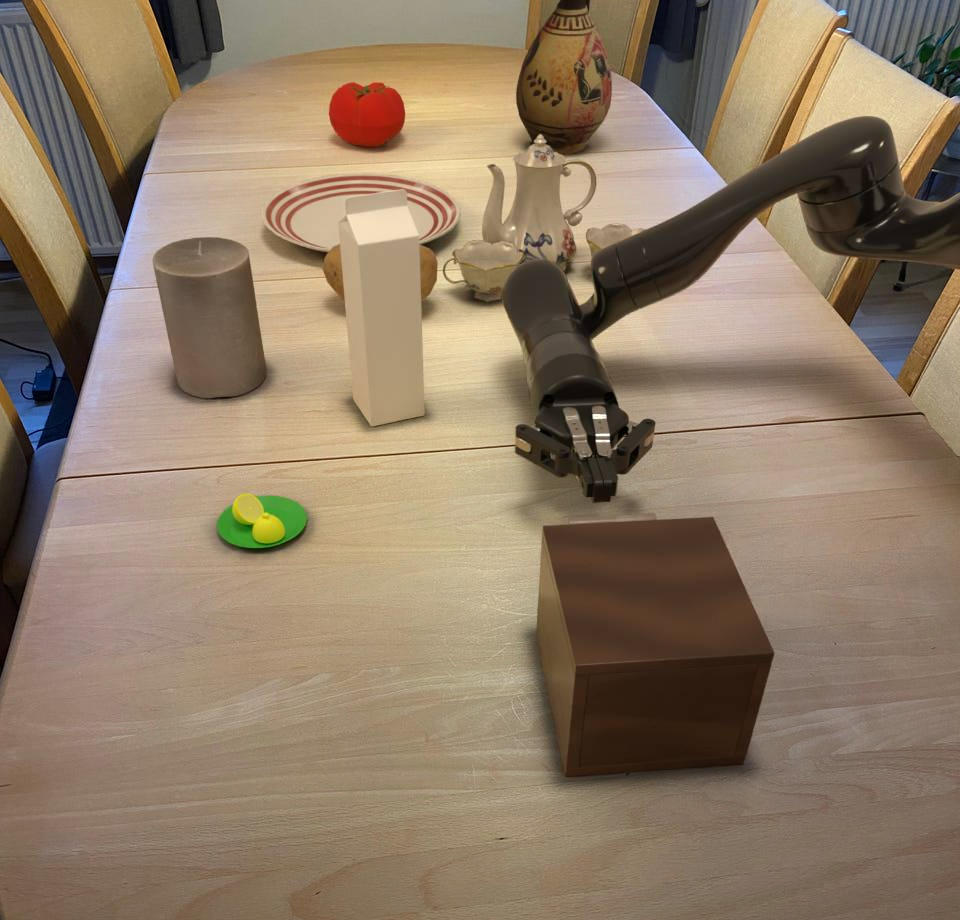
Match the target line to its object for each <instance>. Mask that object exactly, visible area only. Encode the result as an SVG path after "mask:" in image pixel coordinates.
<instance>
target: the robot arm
mask: <svg viewBox="0 0 960 920" xmlns="http://www.w3.org/2000/svg"><path fill="white" fill-rule="evenodd" d="M897 150H898V149H897V145H896V141H895V136H894V132H893V129H892V126H891V125H890V124H889V123H888V122H887V121H886V120H885V119H883V118H881V117H878V116H874V115H861V116H855V117H850V118H847V119H844V120H841V121H837V122H836V123H833V124H831V125H829V126H826V127H824V128H822V129H820V130H818V131H816V132H814V133H812V134H810V135H809V136H807V137H805V138H803V139H801V140H800V141H798V142H797V143H795V144H793V145H791V146H790V147H788V148H786V149H784V150H782V151H781V152H779V153H778V154H776V155H775V156H772V157H771V158H769V159H768V160H766V161H765V162H763V163H761V164H760V165H757V166H756V167H755V168H753V169H751V170H749V171H748V172H745V174H743V175H741V176H740V177H738V178H736V179H735V180H733V181H732V182H730V183H728V184H727V185H725V186H724V187H722V188H721V189H719V190H717V191H715V193H713V194H710V195H709V196H708V197H706V198H705V199H703V200H702V201H700V202H698V203H696V204H695V205H693V206H691V207H690V208H688V209H686V210H684V211H682V212H680V213H679V214H677V215H675V216H673V217H670V218H668V219H667V220H664V221H663V222H660V223H658V224H656V225H654V226H651V227H648V228H645V229H646V230H644V231H642V232H639V233H637V234H635V235H633V236H630V237H628V238H626V239H624V240H621V241H619V242H617V243H615V244H612V245H610V246H608V247H606V248H603V249H602V250H600V251H598V252H597V253H596V254H595V255H594V256H593V257H592V256H591V260H590V274H591V275H590V276H591V281H592V286H593V290H594V292H593V293H592V295H591V296H590V297H589V298H588V299H587V300H586V301H584V302H583V303H581V304H580V303H579V302H578V299H577V297H576V295H575V292H574V290H573V289H572V285H571V284H570V281H569V279H568V277H567V276H566V273H565V271H564V272H563V270H562V269H561V268H560V267H559V266H558V265H557V264H555V263H554V262H552V261H549V260H545V259H533V260H529V261H526V262H524V263H522V264H520V265H519V266H517V267H516V268H515V269H514V270H513V271H512V272H511V273H510V275H509V276H508V278H507V279H506V281H505V284H504V287H503V290H502V291H501V292H502V293H501V294H502V296H501V301H502V305H503V309H504V311H505V313H506V315H507V318H508V320H509V323H510V325H511V327H512V329H513V331H514V334H515V336H516V338H517V340H518V343H519V346H520V349H521V354H522V360H523V364H524V368H525V372H526V384H527V395H528V398H529V401H530V402H531V405H532V408H533V413H534V416H535V418H534V425H532V426H530V425H528V424H525V423H520V424H517V425H515V439H514V441H515V443H514V453H515V454H516V455H518V456H520V457H521V458H523V459H525V460H527V461H528V462H530V463H532V464H534V465H535V466H537V467H539V468H541V469H542V470H545V472H548V473H549V474H552V475H553V476H555V477H557V478H565V477H567V476H568V475H569V474H570V475H574V476H575V478H576V479H577V480H578V482H579V485H580V490H581V493H582V495H583V496H584V497H585V498H587V499H588V498H590V501H591V503H592V504H601V503H602V504H603V503H611V501H612V497H616V495H617V493H618V492H617V491H618V483H619V477H618V475H620V476H624V475H627V474H628V473H629V472H630V471H632V469H633V468H634V467H635V466H636V465H637V464H638V463H639V462H640V461H641V460H642V458H644V456H645V455H647V453H648V452H649V451H650V450H652V448H653V445H654V438H655V430H656V420H654V419H651V418H644V419H642V420H641V421H640V422H639V423H637V422H634V421H632V420H630V417H629V415H628V413H627V412H626V411H624V410H623V409H621V407H620V405H619V401H618V397H617V395H616V392H615V390H614V387H613V384H612V382H611V379H610V376H609V374H608V372H607V369H606V366H605V364H604V361H603V359H602V357H601V355H600V353H599V352H598V350H597V349H596V348H595V344H594V342H593V340H594V339H595V338H597V337H598V336H599V335H600V334H602V333H603V332H605V331H606V330H607V329H609V328H610V327H612V326H613V325H615V324H616V323H617V322H619V321H620V320H622V319H623V318H625V317H627V316H628V315H630V314H632V313H635V312H637V311H639V310H642V309H644V308H647V307H649V306H652V305H654V304H656V303H659V302H662V301H664V300H666V299H668V298H671V297H673V296H675V295H677V294H679V293H682V292H683V291H685V290H687V289H688V288H690V287H691V286H692V285H695V283H696V282H698V281H699V280H700V279H701V278H703V276H705V275H706V274H707V272H708V271H709V270H710V269H711V268H712V267H713V266H714V264H715V263H716V262H717V261H718V260H719V259H720V258H721V256H722V255H723V254H724V252H725V251H726V250H727V249H728V247H730V245H731V244H732V243H733V242H734V241H735V239H736V238H737V237H738V236H739V235H740V234H741V233H742V232H743V231H744V230H745V229H746V228H747V227H748V226H749V224H751V223H752V221H754V220H755V219H756V218H757V217H758V216H759V215H761V214H762V213H763V212H765V211H767V210H768V209H770V208H771V207H772V206H774V205H775V204H777V203H780V202H781V201H783V200H786V199H789V198H790V197H792V196H794V195H796V196H797V199H798V203H799V206H800V210H801V213H802V214H801V215H802V217H803V222H804V224H805V228H806V231H807V234H808V236H809V239H810V241H811V242H812V243H813V244H814V245H815V247H817V249H819V250H821V251H823V252H824V253H827V254H830V255H834V256H839V257H845V258H854V259H855V258H856V259H867V260H879V261H880V260H881V261H893V262H906V263H916V264H922V265H923V264H924V265H929V266H936V267H941V268H947V269H952V270H958V271H960V191H959V192H957V193H956V194H955V195H953V196H951V197H950V198H948V199H946V200H944V201H929V200H922V199H917V198H915V197H912V196H911V195H909V194H908V192H906V189H905V185H904V182H903V177H902V176H903V175H902V172H901V166H900V163H899V162H900V161H899V157H898V151H897ZM615 447H616V449H614V448H615ZM551 454H552V455H553V456H554V459H553V457H552V456H551Z"/></svg>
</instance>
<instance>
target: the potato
mask: <svg viewBox="0 0 960 920" xmlns="http://www.w3.org/2000/svg"><path fill="white" fill-rule="evenodd" d="M419 251H420V282H421V304H422V303H423V302H424V301H425V300H426V299H427V298H428V297H430V295H431V293H432V291H433V289H434V287H435V285H436V283H437V281H438V265H439V263H438V259H437V256H436V253H435V252H434V251H433V250H432V249H431V248H429V247H427V246H425V245H423V244H421V245H420V244H419ZM322 271H323V274H324V277H325V279H326V283H327V284H328V285H329V286H330V287H331V289H333V291H334V292H335V294H337V296H338V297H339V298H340V299H341V300H342V301H343V302H345V297H344V285H343V273H342V262H341V250H340V244H338V245H336V246H334V247H333V248H332V249H331V250H330V251H329V252H326V255H325V257H324V259H323V265H322Z"/></svg>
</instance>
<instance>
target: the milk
mask: <svg viewBox="0 0 960 920" xmlns="http://www.w3.org/2000/svg"><path fill="white" fill-rule="evenodd" d="M345 208H346V215H345V216H344V217H343V218H342V219H341V220H340V221H339V222H338V227H339V238H340V250H341V262H342V273H343V285H344V297H345V301H344V306H345V318H346V331H347V332H346V333H347V341H348V342H347V343H348V353H349V365H350V367H349V368H350V378H351V389H352V400H353V402H354V403H355V404H356V406H357V407H358V409H359V410H360V412H361V414H362V416H364V418H365V419H366V421H367V423H368V424H369V425H370V427H377V426H381V425H386V424H390V423H391V424H392V423H396V422H400V421H405V420H409V419H413V418H419V417H424V416H425V415H426V410H425V409H426V408H425V407H426V405H425V403H426V402H425V378H424V377H425V375H424V348H423V346H424V345H423V344H424V343H423V317H422V316H423V315H422V314H423V313H422V303H421V282H420V251H419V234H418V231H417V229H416V226H415V224H414V221H413V219H412V216H411V214H410V211H409V209H408V206H407V192H406V191H405V190H404V189H401V190H394V191H387V192H380V193H373V194H366V195H359V196H352V197H347V198H346V200H345Z"/></svg>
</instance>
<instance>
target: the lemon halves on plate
mask: <svg viewBox="0 0 960 920" xmlns="http://www.w3.org/2000/svg"><path fill="white" fill-rule="evenodd" d="M307 519H308V516H307V513H306V510H305V509H304V507H303V506H302V505H301V504H299V503H298V501H295V500H293V499H291V498H288V497H285V496H279V495H256V496H255V495H253V494H251V493H249V492H244V493H240V494H239V495H238V496H237V497H236V498H235V499H234V501H233V503H232V504H231V505H229V506H228V507H227V508H225V509H224V510H223V511H222V512H221V513H220V515H219V517H218V519H217V522H216V528H217V529H216V530H217V532H218V534H219V536H220V537H221V538H222V539H224V540H225V541H226V542H228V543H230V544H231V545H234V546H237V547H240V548H246V549H247V548H248V549H262V548H263V549H265V548H271V547H274V546H275V547H276V546H278V545H281V544H284V543H286V542H288V541H290V540H292V539H293V538H295V537H296V536H298V535H299V534H300V533H301V532H302V531H303V529H304V528H305V526H306V523H307Z"/></svg>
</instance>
